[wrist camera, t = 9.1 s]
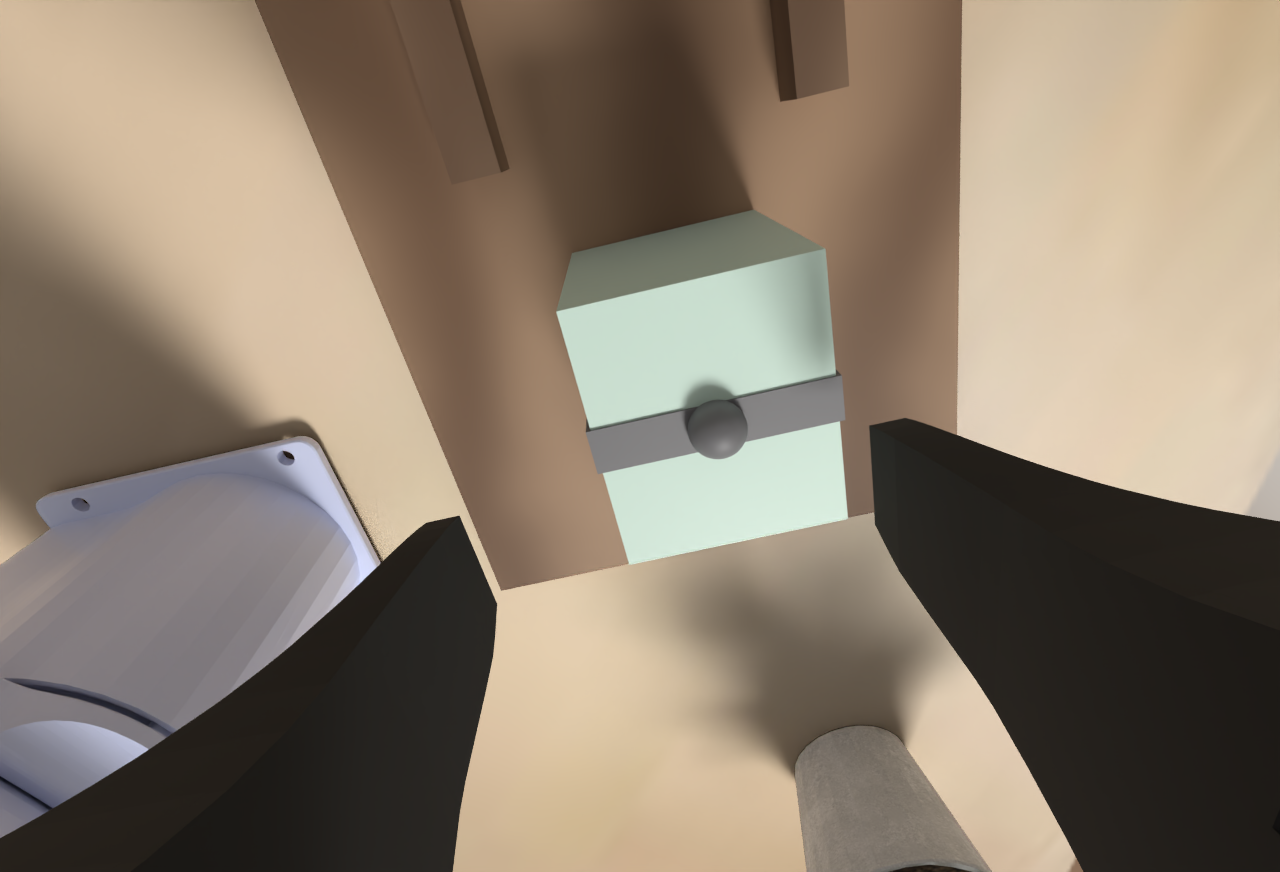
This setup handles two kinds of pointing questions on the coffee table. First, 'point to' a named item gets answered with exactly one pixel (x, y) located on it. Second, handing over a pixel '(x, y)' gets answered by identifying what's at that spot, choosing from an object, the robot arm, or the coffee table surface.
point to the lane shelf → (628, 205)
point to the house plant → (875, 809)
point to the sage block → (708, 383)
